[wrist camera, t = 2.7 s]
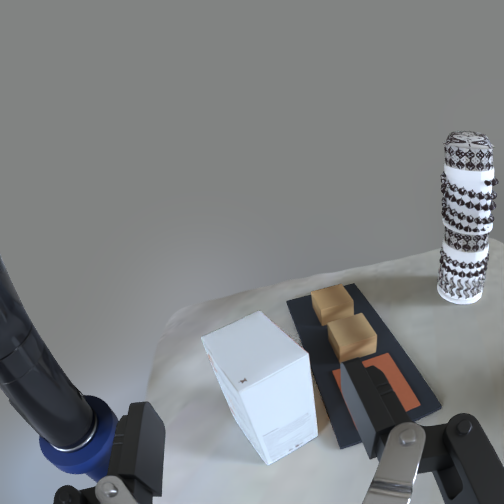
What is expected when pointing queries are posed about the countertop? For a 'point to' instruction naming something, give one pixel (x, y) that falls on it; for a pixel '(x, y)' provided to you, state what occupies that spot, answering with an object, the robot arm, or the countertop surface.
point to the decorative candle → (466, 215)
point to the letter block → (332, 304)
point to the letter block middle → (352, 337)
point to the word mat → (385, 358)
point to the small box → (265, 384)
